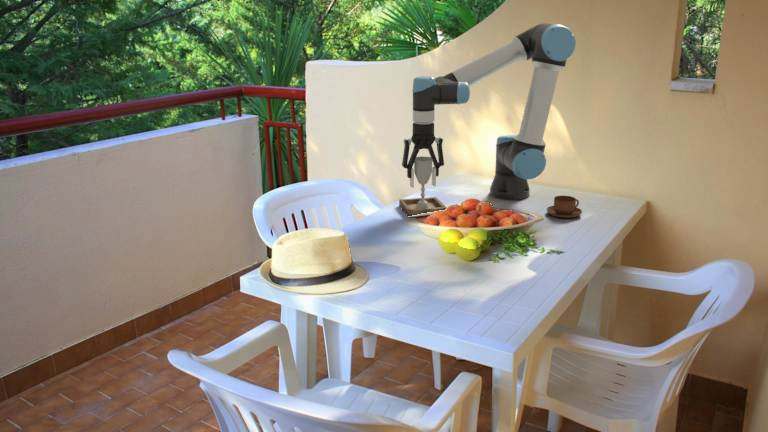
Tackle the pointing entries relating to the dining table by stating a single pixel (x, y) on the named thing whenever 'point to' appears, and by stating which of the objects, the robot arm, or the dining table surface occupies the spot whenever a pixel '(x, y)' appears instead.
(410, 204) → the tray
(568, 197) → the cup and saucer
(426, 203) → the chalice
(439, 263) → the dining table surface
